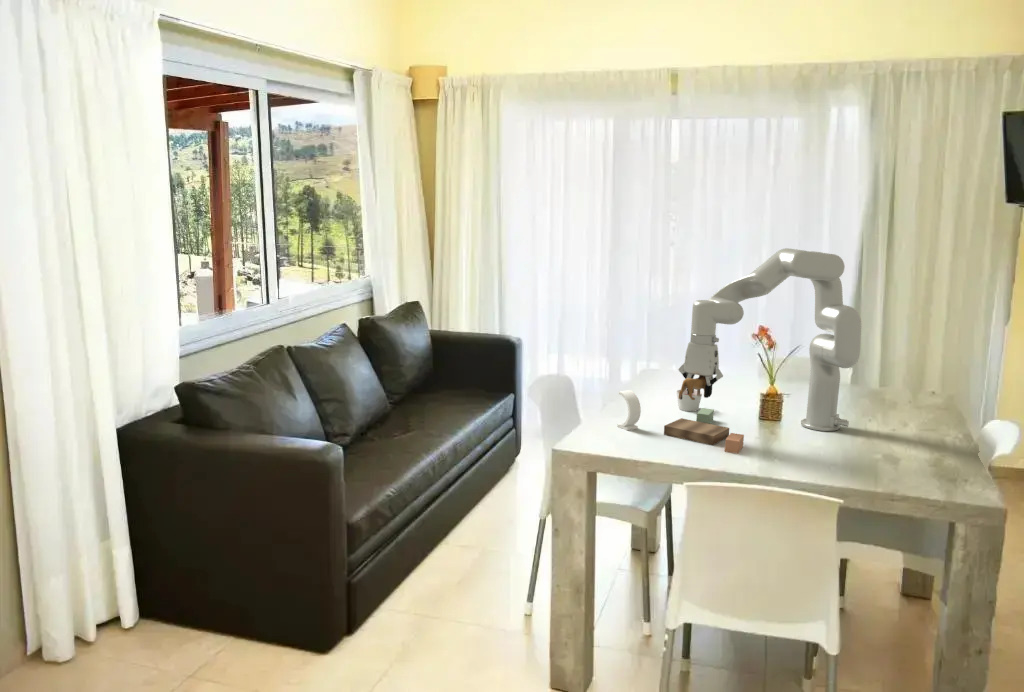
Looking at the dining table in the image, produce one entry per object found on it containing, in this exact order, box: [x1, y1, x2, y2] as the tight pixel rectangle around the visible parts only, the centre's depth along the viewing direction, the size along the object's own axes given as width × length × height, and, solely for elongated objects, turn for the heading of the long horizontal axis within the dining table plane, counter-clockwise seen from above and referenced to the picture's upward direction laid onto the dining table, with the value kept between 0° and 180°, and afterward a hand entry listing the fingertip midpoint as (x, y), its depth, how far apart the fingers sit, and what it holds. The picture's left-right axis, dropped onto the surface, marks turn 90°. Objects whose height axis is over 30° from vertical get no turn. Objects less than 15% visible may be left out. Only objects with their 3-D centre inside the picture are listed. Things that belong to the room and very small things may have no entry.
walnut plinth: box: [663, 417, 730, 446], centre depth 273 cm, size 17×12×3 cm
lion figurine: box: [679, 375, 707, 400], centre depth 269 cm, size 15×5×9 cm, turn 131°
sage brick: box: [695, 407, 715, 424], centre depth 290 cm, size 8×4×4 cm, turn 154°
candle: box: [676, 389, 703, 412], centre depth 306 cm, size 9×9×6 cm
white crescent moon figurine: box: [617, 389, 642, 431], centre depth 280 cm, size 5×6×12 cm
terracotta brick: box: [724, 432, 745, 454], centre depth 260 cm, size 8×4×4 cm, turn 154°
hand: (698, 394), depth 271 cm, fingers closed on lion figurine, 5 cm apart
